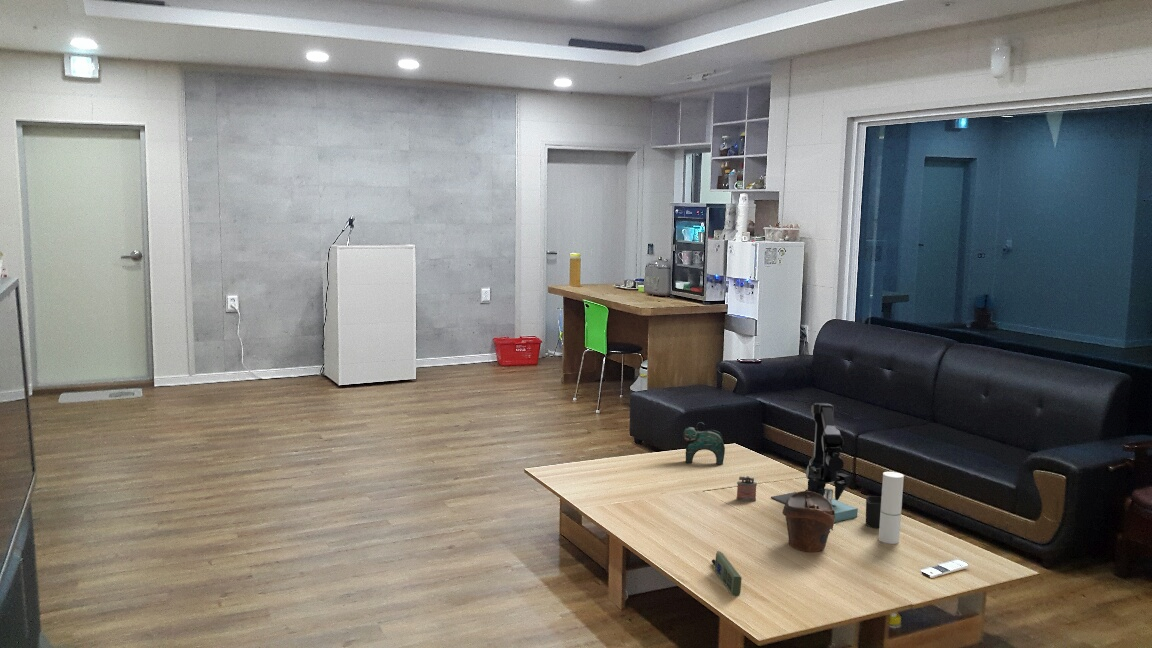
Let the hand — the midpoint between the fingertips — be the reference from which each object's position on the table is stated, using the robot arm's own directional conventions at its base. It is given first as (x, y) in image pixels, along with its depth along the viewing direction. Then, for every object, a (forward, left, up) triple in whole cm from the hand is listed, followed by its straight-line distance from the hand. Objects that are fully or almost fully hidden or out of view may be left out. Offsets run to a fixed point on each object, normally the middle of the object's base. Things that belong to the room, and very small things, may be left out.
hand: (828, 501), depth 348 cm
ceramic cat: (0, -79, -5) cm, 79 cm away
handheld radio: (+78, +30, -6) cm, 83 cm away
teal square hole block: (0, 0, -5) cm, 5 cm away
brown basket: (+32, +21, -5) cm, 39 cm away
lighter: (+18, -28, -5) cm, 34 cm away
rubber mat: (0, -18, -5) cm, 19 cm away
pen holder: (-8, +18, -5) cm, 20 cm away
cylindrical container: (+1, +31, -5) cm, 31 cm away
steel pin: (0, 0, -5) cm, 5 cm away
